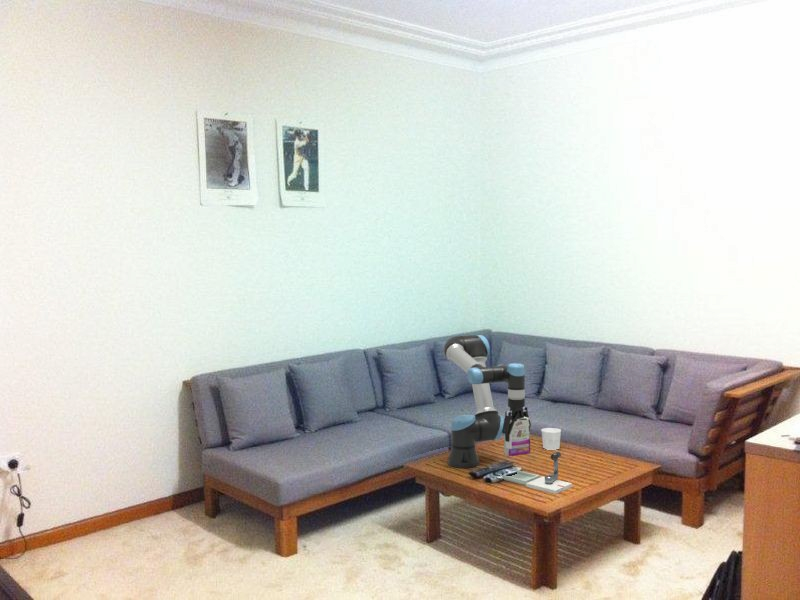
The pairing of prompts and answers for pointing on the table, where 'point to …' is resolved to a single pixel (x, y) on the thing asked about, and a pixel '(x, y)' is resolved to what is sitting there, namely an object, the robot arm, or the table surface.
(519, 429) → the candy bar box
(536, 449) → the table surface
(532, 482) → the crank base
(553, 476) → the crank
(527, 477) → the tray
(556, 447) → the cup
